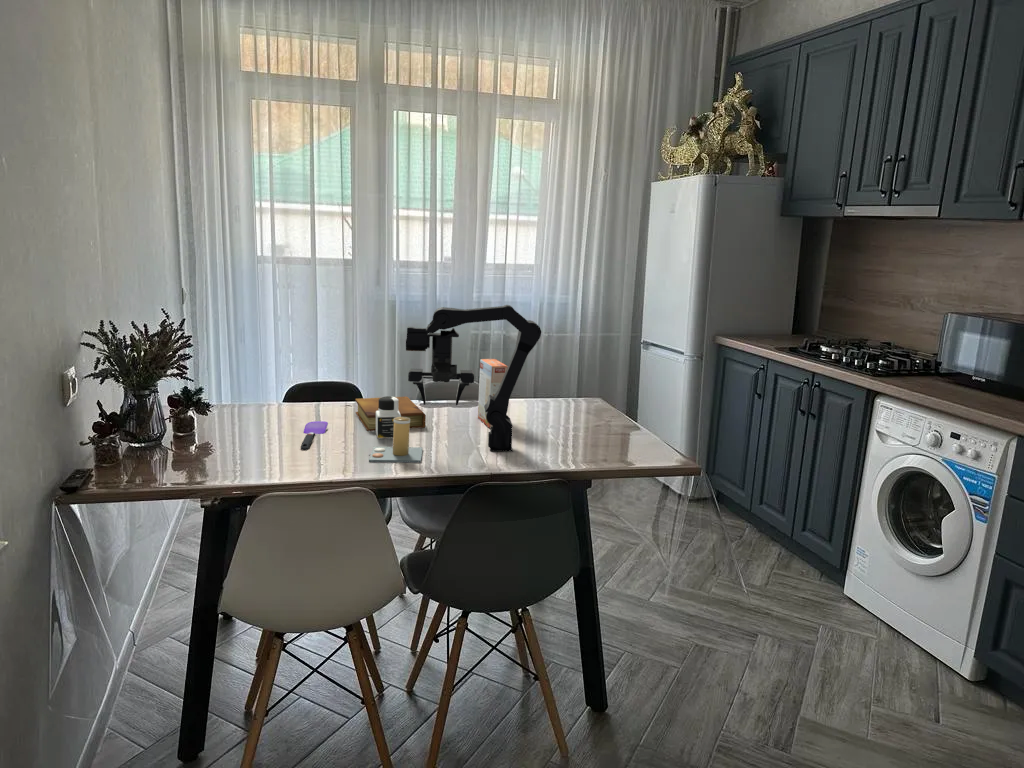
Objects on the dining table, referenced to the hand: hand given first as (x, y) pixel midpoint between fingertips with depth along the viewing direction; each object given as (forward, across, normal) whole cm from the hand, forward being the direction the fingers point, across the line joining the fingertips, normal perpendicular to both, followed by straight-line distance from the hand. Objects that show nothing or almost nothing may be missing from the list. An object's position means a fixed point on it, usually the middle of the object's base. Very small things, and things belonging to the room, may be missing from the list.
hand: (440, 404), depth 203 cm
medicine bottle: (+13, -16, +12) cm, 24 cm away
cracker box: (+13, +17, +29) cm, 36 cm away
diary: (+14, -17, +30) cm, 37 cm away
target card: (+13, -12, -8) cm, 19 cm away
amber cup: (+12, -11, -8) cm, 18 cm away
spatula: (+14, -39, +8) cm, 42 cm away
